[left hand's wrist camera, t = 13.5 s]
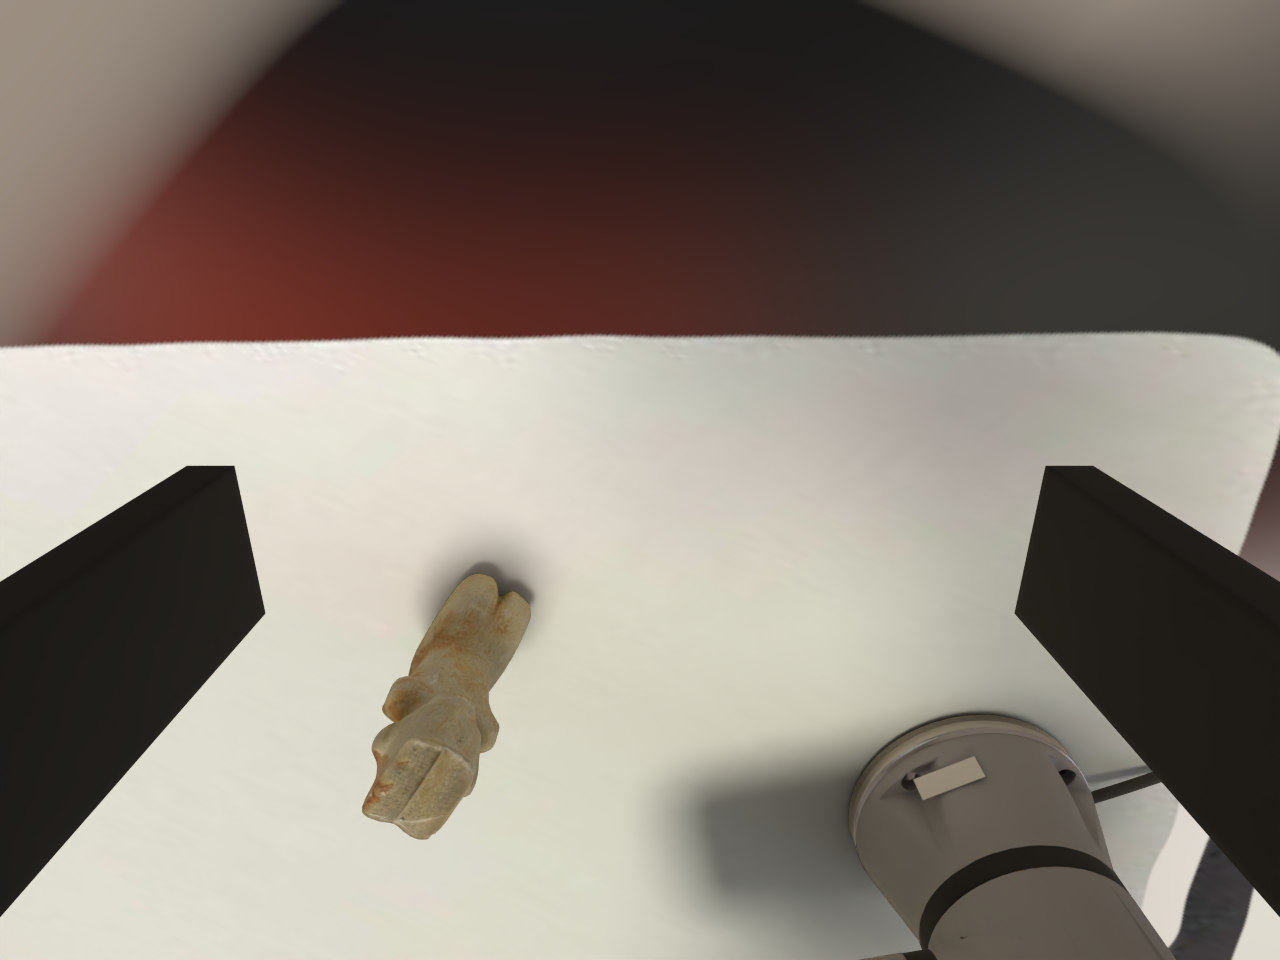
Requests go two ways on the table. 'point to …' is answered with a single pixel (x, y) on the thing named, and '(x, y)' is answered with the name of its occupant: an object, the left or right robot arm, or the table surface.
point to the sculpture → (445, 709)
